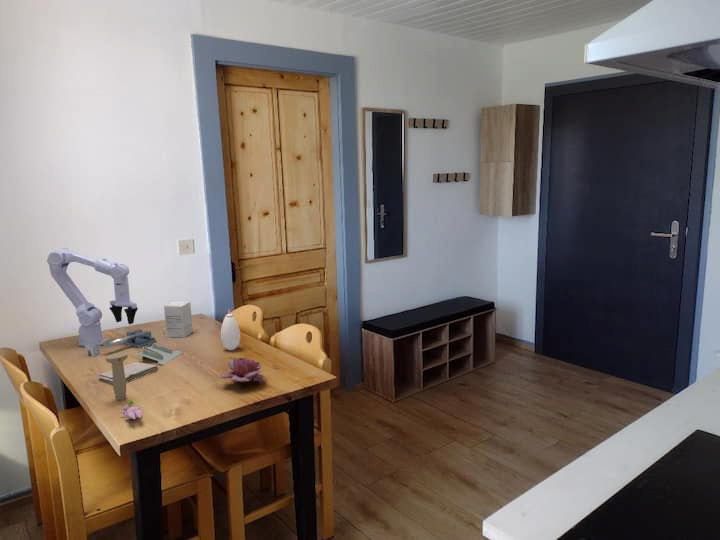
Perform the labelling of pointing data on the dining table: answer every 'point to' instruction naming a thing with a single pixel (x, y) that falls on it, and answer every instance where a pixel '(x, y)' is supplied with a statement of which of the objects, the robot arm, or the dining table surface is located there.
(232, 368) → the flower
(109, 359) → the handle
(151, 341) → the vise
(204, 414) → the dining table surface
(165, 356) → the metal bracket
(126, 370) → the washcloth
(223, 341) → the sauce bottle
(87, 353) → the notched block
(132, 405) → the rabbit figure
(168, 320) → the supplement box
